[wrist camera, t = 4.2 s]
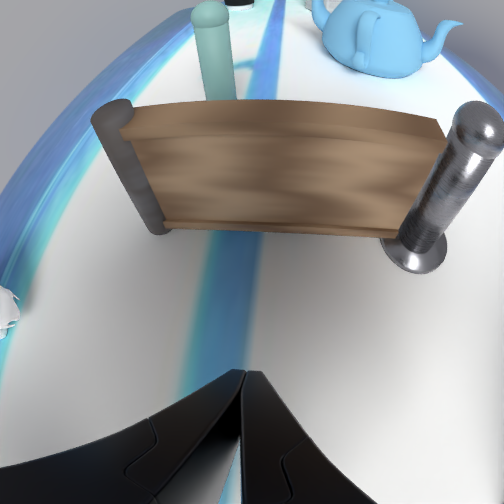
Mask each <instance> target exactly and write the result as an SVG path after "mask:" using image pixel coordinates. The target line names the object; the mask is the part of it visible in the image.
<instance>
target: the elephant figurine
mask: <svg viewBox="0 0 504 504" xmlns="http://www.w3.org/2000/svg"><path fill="white" fill-rule="evenodd" d="M13 297H15V298H17V299H18V300H20V299H19V298H18V297H17V296H16V295H14V294H13V293H12V292H11V291H10V290H9V289H5V288H3V287H2V286H1V285H0V339H3V338H5V337H6V335H7V328H9V327H12V326H14V325H15V324H13V325H8V323H9V322H11V321H13V320H14V321H17V320H19V318H20V311H19V309H18V307H17V305H16V303H15V301H14V299H13Z"/></svg>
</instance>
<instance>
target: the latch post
mask: <svg viewBox="0 0 504 504" xmlns="http://www.w3.org/2000/svg"><path fill="white" fill-rule="evenodd" d="M228 20H229V12H228V10H227V8H226V7H225V6H224V5H223V4H222V3H220V2H217V1H211V0H210V1H204V2H202V3H200V4H198V5H197V6H196V7H195V8H194V9H193V11H192V13H191V23H192V25H193V27H194V33H195V39H196V45H197V50H198V56H199V62H200V67H201V73H202V79H203V84H204V90H205V95H206V101H212V100H237V98H236V89H235V79H234V70H233V60H232V51H231V42H230V32H229V23H228Z"/></svg>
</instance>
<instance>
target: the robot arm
mask: <svg viewBox="0 0 504 504" xmlns="http://www.w3.org/2000/svg"><path fill="white" fill-rule="evenodd" d="M239 440H240V465H241V504H377V503H376V502H375V501H374V500H373V499H371V498H370V497H369V496H368V495H367V494H365V493H364V492H363V491H362V490H361V489H360V488H358V487H357V486H356V485H355V484H354V483H353V482H352V481H350V480H349V479H348V478H347V477H346V476H345V475H344V474H343V473H342V472H341V471H340V470H339V469H338V468H336V467H335V466H334V465H333V464H332V463H331V462H330V461H329V460H328V458H327V457H326V456H325V455H324V454H323V453H322V451H321V450H320V449H319V448H318V447H317V445H316V444H315V443H314V441H313V440H312V439H311V438H310V437H309V436H308V434H307V433H306V432H305V430H304V429H303V428H302V426H301V425H300V424H299V422H298V421H297V420H296V418H295V417H294V416H293V414H292V413H291V411H290V410H289V409H288V407H287V406H286V405H285V403H284V402H283V400H282V399H281V398H280V396H279V395H278V393H277V392H276V391H275V389H274V388H273V386H272V385H271V384H270V382H269V381H268V379H267V378H266V377H265V375H264V374H263V372H261V371H247V372H246V371H245V370H238V369H231V370H230V371H228V372H226V373H225V374H223V375H221V376H220V377H218V378H217V379H215V380H213V381H212V382H210V383H208V384H207V385H205V386H203V387H202V388H200V389H198V390H197V391H195V392H193V393H192V394H190V395H188V396H186V397H185V398H183V399H181V400H179V401H178V402H176V403H174V404H172V405H171V406H169V407H167V408H165V409H163V410H162V411H160V412H158V413H156V414H154V415H152V416H151V417H149V419H148V418H146V419H144V420H142V421H140V422H138V423H136V424H134V425H132V426H130V427H128V428H126V429H124V430H121V431H119V432H117V433H115V434H112V435H110V436H107V437H104V438H102V439H99V440H97V441H94V442H91V443H88V444H85V445H82V446H79V447H76V448H73V449H70V450H66V451H63V452H60V453H57V454H53V455H50V456H46V457H43V458H39V459H35V460H31V461H28V462H24V463H20V464H15V465H11V466H7V467H2V468H0V504H218V502H219V499H220V497H221V494H222V491H223V488H224V485H225V482H226V480H227V477H228V474H229V471H230V468H231V465H232V462H233V459H234V456H235V453H236V450H237V447H238V444H239Z"/></svg>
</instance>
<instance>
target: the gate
mask: <svg viewBox="0 0 504 504" xmlns="http://www.w3.org/2000/svg"><path fill="white" fill-rule="evenodd" d="M90 121H91V124H92V126H93V128H94V130H95V132H96V134H97V136H98V138H99V140H100V142H101V144H102V146H103V148H104V150H105V152H106V154H107V156H108V158H109V160H110V161H111V163H112V165H113V167H114V169H115V171H116V173H117V175H118V176H119V178H120V180H121V182H122V184H123V186H124V187H125V189H126V191H127V193H128V195H129V196H130V198H131V200H132V202H133V204H134V205H135V207H136V209H137V211H138V212H139V214H140V216H141V218H142V219H143V221H144V223H145V224H146V226H147V228H148V230H149V231H150V232H151V233H153V234H155V235H163V234H166V233H168V232H169V231H171V230H172V229H198V230H229V231H255V232H279V233H301V234H322V235H341V236H359V237H376V238H393V239H395V238H396V236H397V235H398V233H399V231H398V229H399V228H400V226H401V224H402V222H403V221H404V219H405V217H406V215H407V214H408V212H409V210H410V208H411V207H412V205H413V203H414V201H415V199H416V198H417V196H418V194H419V192H420V190H421V188H422V187H423V185H424V183H425V181H426V179H427V177H428V175H429V173H430V171H431V169H432V167H433V165H434V163H435V161H436V159H437V157H438V155H439V153H443V151H444V149H445V147H446V145H447V143H448V142H447V139H446V137H445V135H444V133H443V132H442V130H441V128H440V126H439V124H438V122H437V120H436V119H433V118H428V117H423V116H418V115H413V114H408V113H402V112H397V111H391V110H384V109H378V108H371V107H363V106H355V105H346V104H336V103H325V102H311V101H294V100H212V101H194V102H180V103H169V104H159V105H150V106H142V107H135V108H133V107H132V104H131V102H130V100H128V99H117V100H113V101H111V102H108V103H106V104H104V105H103V106H101V107H100V108H99V109H97V110H96V111H95V112H94V114H93V115H92V117H91V120H90Z"/></svg>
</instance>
